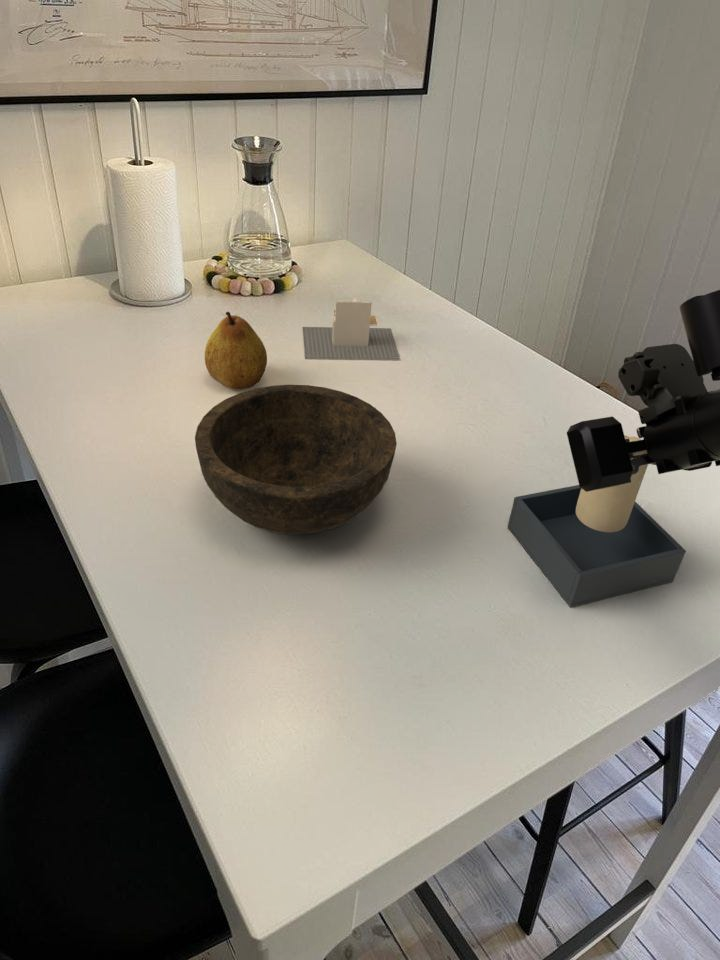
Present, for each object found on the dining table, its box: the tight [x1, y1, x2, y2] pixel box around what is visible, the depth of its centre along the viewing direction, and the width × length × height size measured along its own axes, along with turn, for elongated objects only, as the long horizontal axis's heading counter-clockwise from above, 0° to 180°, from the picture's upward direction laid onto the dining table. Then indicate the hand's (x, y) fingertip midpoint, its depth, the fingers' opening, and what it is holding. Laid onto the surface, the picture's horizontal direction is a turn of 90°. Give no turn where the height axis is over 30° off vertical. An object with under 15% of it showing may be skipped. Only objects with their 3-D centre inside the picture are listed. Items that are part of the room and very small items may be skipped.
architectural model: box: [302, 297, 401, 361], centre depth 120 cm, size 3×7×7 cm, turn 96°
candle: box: [576, 434, 649, 532], centre depth 78 cm, size 6×6×10 cm
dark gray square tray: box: [507, 484, 687, 608], centre depth 83 cm, size 13×13×4 cm
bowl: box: [194, 384, 397, 535], centre depth 85 cm, size 22×22×10 cm
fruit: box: [204, 311, 268, 391], centre depth 106 cm, size 9×9×12 cm
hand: (609, 459), depth 78 cm, fingers closed on candle, 5 cm apart
